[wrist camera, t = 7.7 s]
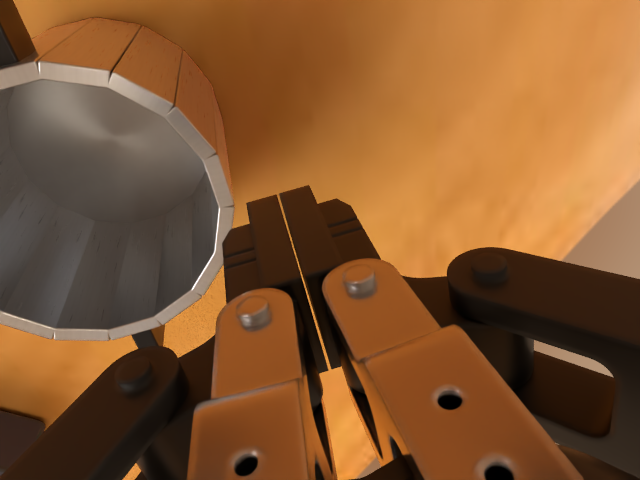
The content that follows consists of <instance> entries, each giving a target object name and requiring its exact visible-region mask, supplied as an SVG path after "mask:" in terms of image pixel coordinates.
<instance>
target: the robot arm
mask: <svg viewBox="0 0 640 480" xmlns="http://www.w3.org/2000/svg"><path fill="white" fill-rule="evenodd" d="M279 195H280V199H281V203H282V206H283V210H284V213H285V216H286V220H287V223H288V227H289V230H290V234H291V237H292V241H293V244H294V248H295V251H296V255H297V258H298V261H299V265H300V268H301V271H302V275H303V278H304V281H305V285H306V288H307V291H308V294H309V298H310V301H311V304H312V307H313V310H314V314H315V317H316V320H317V323H318V327H319V330H320V333H321V336H322V340H323V343H324V346H325V349H326V353H327V356H328V359H329V362H330V366H331V369H334V368H337V367H341V366H342V369H343V372H344V375H345V378H346V381H347V385H348V388H349V392H350V396H351V399H352V401H353V404H354V406H355V408H356V411H357V413H358V415H359V417H360V420H361V422H362V424H363V426H364V429H365V431H366V433H367V435H368V438H369V440H370V442H371V445H372V447H373V449H374V451H375V454H376V456H377V458H378V460H379V463H380V465H381V468H379V469H377V470H376V471H374V472H373V473H371V474H369V475H367V476H365V477H363V478H360V479H351V480H640V279H636V278H631V277H627V276H623V275H618V274H614V273H610V272H605V271H601V270H596V269H592V268H588V267H584V266H579V265H575V264H571V263H566V262H562V261H557V260H553V259H549V258H544V257H540V256H535V255H531V254H527V253H522V252H518V251H514V250H509V249H504V248H496V247H486V248H478V249H474V250H470V251H467V252H465V253H463V254H461V255H459V256H458V257H456V258H455V259H454V260H453V261H452V262H451V263H450V265H449V266H448V269H447V276H446V277H433V278H411V277H405V276H402V275H400V273H399V272H398V271H397V269H396V268H395V267H394V266H393V265H391V264H390V263H388V262H386V261H383V260H381V258H380V257H379V255H378V253H377V251H376V250H375V248H374V246H373V244H372V243H371V241H370V239H369V237H368V236H367V234H366V232H365V230H364V229H363V227H362V225H361V223H360V221H359V220H358V219H357V216H356V214H355V213H354V211H353V209H352V207H351V206H350V205H348V204H346V203H344V202H342V201H340V200H338V199H333V200H330V201H326V202H323V203H319V204H317V202H316V200H315V197H314V195H313V193H312V191H311V188H310V186H309V185H307V186H304V187H300V188H297V189H293V190H290V191H286V192H283V193H279ZM246 204H247V210H248V216H249V221H250V224H247V225H244V226H240V227H237V228H233V229H230V230H229V232H228V234H227V236H226V237H225V239H224V241H223V242H222V250H223V258H224V259H223V263H224V277H225V290H226V303H227V304H226V305H225V306H224V308H223V309H222V310H221V311H220V313H219V315H218V317H217V321H216V333H215V335H214V336H213V337H212V338H211V339H209V340H208V341H207V342H205V343H204V344H202V345H201V346H199V347H197V348H196V349H194V350H192V351H190V352H188V353H186V354H185V355H183V356H181V357H179V358H177V356H176V354H175V353H174V352H173V351H172V350H171V349H169V348H167V347H163V346H149V347H144V348H140V349H137V350H134V351H132V352H130V353H128V354H126V355H124V356H122V357H121V358H119V359H118V360H116V361H115V362H114V363H112V364H111V365H110V366H109V367H108V368H107V369H106V370H105V371H104V372H103V373H102V374H101V375H100V376H99V377H98V378H97V379H96V380H95V381H94V382H93V383H92V384H91V385H90V386H89V387H88V388H87V389H86V390H85V391H84V392H83V393H82V394H81V395H80V396H79V397H78V398H77V399H76V400H75V401H74V402H73V403H72V404H71V405H70V406H69V407H68V408H67V409H66V410H65V411H64V412H63V413H62V414H61V415H60V416H59V417H58V418H57V420H56V421H55V422H54V423H53V424H52V425H51V426H50V427H49V428H48V429H47V430H46V431H45V432H44V433H43V434H42V435H41V436H40V437H39V438H38V439H37V440H36V441H35V442H34V443H33V444H32V445H31V446H30V447H29V448H28V449H27V450H26V451H25V452H24V453H23V454H22V455H21V456H20V457H19V458H18V459H17V460H16V461H15V462H14V463H13V464H12V465H11V466H10V467H9V468H8V469H7V470H6V471H5V472H4V473H3V474H2V475H1V476H0V480H122V479H123V478H124V477H125V476H126V474H127V473H128V472H129V471H130V469H131V468H132V467H133V466H134V464H135V463H137V465H138V466H139V468H140V469H141V472H140V474H139V475H138V476H137V478H136V479H135V480H337V474H336V469H335V463H334V457H333V451H332V445H331V439H330V433H329V427H328V421H327V415H326V409H325V405H324V402H323V399H322V395H323V388H322V383H321V380H320V376H319V373H322V372H325V371H328V367H327V364H326V360H325V357H324V353H323V350H322V347H321V343H320V340H319V336H318V333H317V329H316V326H315V322H314V319H313V316H312V312H311V309H310V305H309V302H308V298H307V295H306V291H305V288H304V284H303V281H302V278H301V274H300V271H299V268H298V264H297V261H296V258H295V254H294V251H293V248H292V245H291V241H290V238H289V235H288V231H287V228H286V225H285V221H284V218H283V215H282V211H281V208H280V205H279V202H278V198H277V195H273V196H269V197H266V198H262V199H259V200H255V201H252V202H248V203H246ZM534 340H537V341H539V342H543V343H546V344H548V345H552V346H555V347H558V348H561V349H564V350H567V351H570V352H573V353H576V354H579V355H582V356H585V357H588V358H591V359H593V360H596V361H597V362H599V363H601V364H602V365H604V366H605V367H606V368H607V369H608V370H609V371H610V372H611V373H612V375H613V377H614V378H613V377H610V376H607V375H604V374H601V373H598V372H595V371H592V370H589V369H587V368H584V367H581V366H578V365H575V364H572V363H569V362H566V361H563V360H560V359H557V358H554V357H551V356H549V355H545V354H543V353H540V352H537V351H534ZM555 443H557V444H555ZM558 444H559V445H558Z"/></svg>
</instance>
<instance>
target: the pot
mask: <svg viewBox="0 0 640 480" xmlns="http://www.w3.org/2000/svg"><path fill="white" fill-rule="evenodd" d="M234 210H235V207H234V198H233V191H232V184H231V176H230V169H229V162H228V155H227V147H226V140H225V133H224V126H223V120H222V116H221V113H220V110H219V107H218V104H217V100H216V97H215V94H214V91H213V88H212V85H211V84H210V81H209V80H208V79H207V78H206V76H205V75H204V74H203V73H202V71H201V70H200V69H199V68H198V66H197V65H196V64H195V63H194V61H193V60H192V59H191V58H190V57H189V55H188V54H187V53H186V52H185V50H182V48H181V47H179V46H178V45H176V44H174V43H173V42H171V41H169V40H167V39H166V38H164V37H162V36H161V35H159V34H157V33H155V32H154V31H152V30H150V29H149V28H147V27H145V26H141V25H140V24H135V23H129V22H122V21H116V20H110V19H104V18H98V17H97V18H89V19H85V20H81V21H77V22H73V23H69V24H65V25H61V26H57V27H53V28H51V29H48V30H47V31H45V32H43V33H42V34H40V35H38V36H36V37H35V38H33V39H31V38H30V36H29V34H28V32H27V29H26V27H25V25H24V23H23V21H22V19H21V17H20V14H19V12H18V10H17V8H16V6H15V4H14V2H13V0H0V324H3V325H6V326H9V327H12V328H15V329H19V330H22V331H25V332H28V333H32V334H35V335H38V336H41V337H45V338H48V339H52V338H53V337H54V340H83V341H109V340H110V339H111V340H115V339H119V338H122V337H126V336H129V335H132V337H133V339H134V341H135V343H136V345H137V347H138V349H140V348H144V347H149V346H163V341H164V329H165V324H166V323H167V322H168V321H170V320H171V319H173V318H174V317H175V316H177V315H178V314H180V313H181V312H182V311H184V310H185V309H187V308H188V307H189V306H191V305H192V304H194V303H195V302H196V301H198V300H199V299H201V298H202V295H204V294H205V293H206V291H207V290H208V288H209V286H210V285H211V283H212V282H213V280H214V278H215V277H216V275H217V274H218V272H219V270H220V269H221V267H222V266H223V264H224V263H223V259H224V258H223V250H222V242H223V241H224V239H225V237H226V236H227V234H228V232H229V230H230V229H232V226H233V218H234Z"/></svg>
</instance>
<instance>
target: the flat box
mask: <svg viewBox="0 0 640 480" xmlns="http://www.w3.org/2000/svg"><path fill="white" fill-rule="evenodd" d="M44 430H45V424H44V423H43V422H41V421H39V420H35V419H31V418H27V417H23V416H20V415H16V414H12V413H8V412H4V411H0V476H1V475H2V474H3V473H4V472H5V471H6V470H7V469H8V468H9V467H10V466H11V465H12V464H13V463H14V462H15V461H16V460H17V459H18V458H19V457H20V456H21V455H22V454H23V453H24V452H25V451H26V450H27V449H28V448H29V447H30V446H31V445H32V444H33V443H34V442H35V441H36V440H37V439H38V438H39V437H40V436H41V435H42V434H43V433H44Z"/></svg>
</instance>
